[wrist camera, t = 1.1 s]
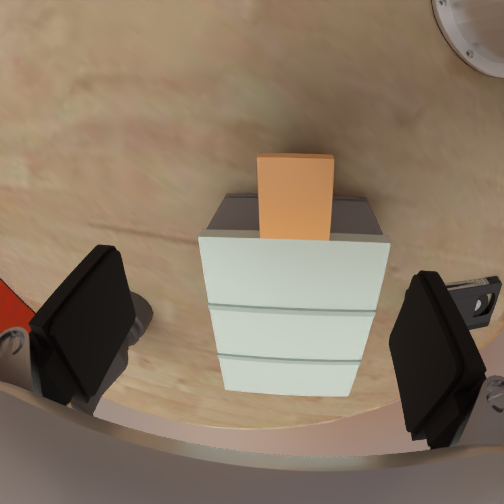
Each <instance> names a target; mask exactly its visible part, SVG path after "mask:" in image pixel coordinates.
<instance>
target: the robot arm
mask: <svg viewBox="0 0 504 504" xmlns="http://www.w3.org/2000/svg"><path fill="white" fill-rule="evenodd" d="M439 2H440V3H441V4H440V3H439ZM432 6H433V10H434V14H435V17H436V20H437V23H438V25H439V27H440V29H441V31H442V33H443V35H444V37H445V39H446V40H447V41H448V43H449V44H450V46H451V47H452V49H453V50H454V51H455V52H456V53H457V54H458V55H459V56H460V58H462V59H463V60H464V61H465V62H466V63H467V64H468V65H470V66H471V67H473V68H474V69H476V70H477V71H479V72H481V73H484V74H486V75H489V76H494V77H502V78H504V0H432ZM466 52H467V54H466ZM135 318H136V313H135V309H134V305H133V301H132V298H131V294H130V290H129V286H128V283H127V279H126V275H125V270H124V266H123V262H122V258H121V254H120V252H119V251H117V250H116V248H115V247H114V246H110V245H97V246H96V247H95V248H94V249H93V250H92V251H91V252H90V253H89V254H88V255H87V256H86V257H85V258H84V259H83V260H82V262H81V263H80V264H79V265H78V266H77V267H76V268H75V269H74V270H73V271H72V272H71V273H70V275H69V276H68V277H67V278H66V279H65V280H64V281H63V282H62V284H61V285H60V286H59V287H58V288H57V289H56V290H55V292H54V293H53V294H52V295H51V296H50V297H49V298H48V300H47V301H46V302H45V303H44V304H43V306H42V307H41V308H40V309H39V310H38V312H37V313H36V314H35V315H34V317H33V318H32V319H31V320H30V322H29V323H28V324H29V326H30V328H31V331H30V333H29V334H28V332H27V331H26V330H25V329H24V328H22V327H12V328H9V329H7V330H5V331H3V332H2V333H1V334H0V504H504V377H502V376H495V375H494V376H491V377H488V378H487V379H486V376H485V374H484V373H485V372H486V367H485V365H484V363H483V360H482V358H481V356H480V353H479V351H478V349H477V347H476V344H475V342H474V340H473V338H472V336H471V334H470V332H469V330H468V328H467V326H466V324H465V321H464V319H463V318H462V316H461V314H460V312H459V310H458V308H457V306H456V304H455V302H454V300H453V298H452V297H451V295H450V293H449V291H448V289H447V287H446V286H445V284H444V282H443V280H442V279H441V277H440V275H439V274H438V272H435V271H422V270H421V271H419V273H418V274H417V275H414V276H413V278H412V280H411V283H410V286H409V289H408V292H407V294H406V297H405V300H404V302H403V305H402V308H401V310H400V313H399V315H398V318H397V320H396V323H395V325H394V327H393V330H392V332H391V335H390V338H389V348H390V352H391V356H392V360H393V365H394V369H395V373H396V378H397V383H398V388H399V392H400V398H401V402H402V408H403V413H404V419H405V425H406V430H407V431H408V432H411V436H412V441H414V440H423V439H427V444H428V447H427V448H426V450H425V451H416V452H407V453H398V454H386V455H372V456H351V457H350V456H349V457H311V456H289V455H274V454H262V453H252V452H244V451H236V450H229V449H222V448H216V447H209V446H204V445H198V444H193V443H187V442H183V441H179V440H174V439H170V438H166V437H161V436H157V435H153V434H149V433H146V432H142V431H138V430H135V429H131V428H128V427H124V426H121V425H118V424H115V423H111V422H108V421H105V420H102V419H99V418H97V417H94V416H91V415H88V414H85V413H83V412H80V411H77V410H75V409H72V406H71V402H70V401H71V400H72V398H73V397H74V399H76V400H79V401H81V402H84V403H87V404H88V402H89V400H90V398H91V396H94V395H96V393H97V391H98V389H99V387H100V385H101V383H102V381H103V379H104V377H105V375H106V374H107V372H108V370H109V368H110V366H111V364H112V362H113V360H114V358H115V357H116V355H117V353H118V351H119V349H120V347H121V345H122V344H123V342H124V340H125V338H126V336H127V334H128V333H129V331H130V329H131V327H132V325H133V324H134V322H135Z"/></svg>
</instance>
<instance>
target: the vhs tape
mask: <svg viewBox="0 0 504 504" xmlns="http://www.w3.org/2000/svg"><path fill="white" fill-rule="evenodd" d="M445 286H446V287H447V289H448V291H449V293H450V295H451V297H452V298H453V300H454V302H455V304H456V306H457V308H458V310H459V312H460V314H461V316H462V318H463V319H464V321H465V324H466V326H467V328H468V330H471V329H476V328H481V327H485V326H488V324H489V322H490V318H491V315H492V313H493V310H494V307H495V305H496V302H497V299H498V295H499V292H500V289H501V286H502V283H501V281H500V280H499V279H498V277H497V276H493V277H487V278H482V279H475V280H469V281H462V282H455V283H448V284H445ZM407 292H408V289H407V290H406V294H407ZM490 293H493V295H492V298H491V301H490V304H489V307H488V310H487V313H486V315H484V313H485V310H486V307H487V304H488V296H487V295H486V294H490ZM406 294H405V297H406ZM479 314H480V316H479Z"/></svg>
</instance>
